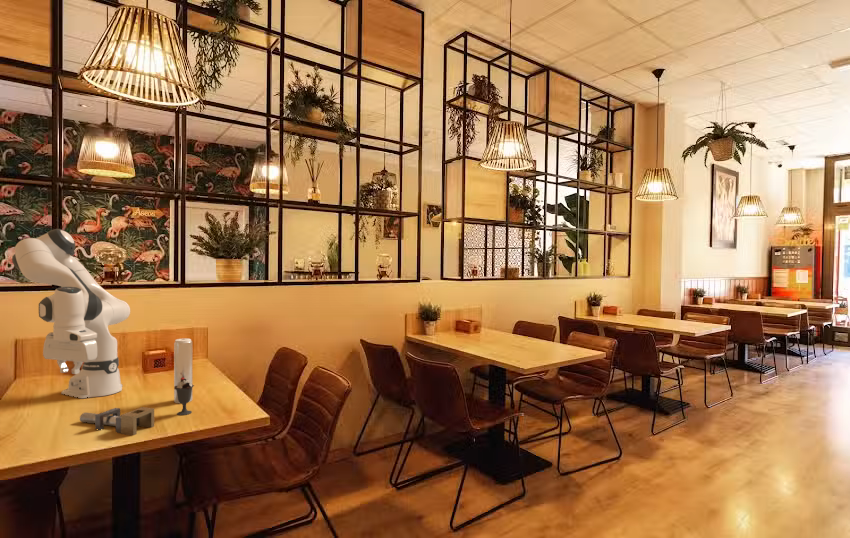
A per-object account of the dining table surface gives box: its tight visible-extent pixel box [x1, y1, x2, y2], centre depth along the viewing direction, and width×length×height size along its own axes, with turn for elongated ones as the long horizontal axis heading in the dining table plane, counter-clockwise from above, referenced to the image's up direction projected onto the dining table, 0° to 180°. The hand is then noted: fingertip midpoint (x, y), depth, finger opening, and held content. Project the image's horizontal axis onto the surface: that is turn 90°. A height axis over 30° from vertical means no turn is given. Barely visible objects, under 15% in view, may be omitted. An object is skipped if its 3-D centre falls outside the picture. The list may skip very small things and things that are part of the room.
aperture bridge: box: [120, 406, 155, 436], centre depth 155 cm, size 5×8×6 cm, turn 166°
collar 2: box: [115, 413, 140, 434], centre depth 156 cm, size 2×8×5 cm, turn 166°
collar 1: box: [94, 407, 121, 431], centre depth 158 cm, size 2×8×5 cm, turn 166°
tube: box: [79, 412, 119, 427], centre depth 160 cm, size 18×3×3 cm
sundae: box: [173, 373, 195, 416], centre depth 172 cm, size 7×7×15 cm
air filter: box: [173, 338, 193, 404], centre depth 186 cm, size 6×6×25 cm
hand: (69, 372), depth 162 cm, fingers open, 4 cm apart
